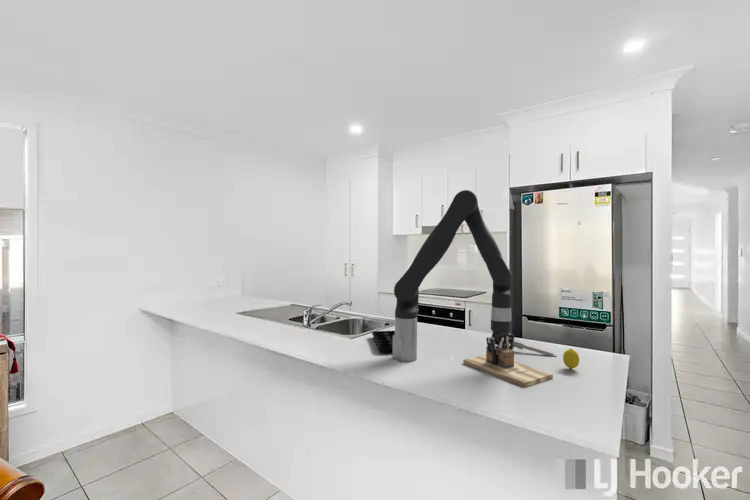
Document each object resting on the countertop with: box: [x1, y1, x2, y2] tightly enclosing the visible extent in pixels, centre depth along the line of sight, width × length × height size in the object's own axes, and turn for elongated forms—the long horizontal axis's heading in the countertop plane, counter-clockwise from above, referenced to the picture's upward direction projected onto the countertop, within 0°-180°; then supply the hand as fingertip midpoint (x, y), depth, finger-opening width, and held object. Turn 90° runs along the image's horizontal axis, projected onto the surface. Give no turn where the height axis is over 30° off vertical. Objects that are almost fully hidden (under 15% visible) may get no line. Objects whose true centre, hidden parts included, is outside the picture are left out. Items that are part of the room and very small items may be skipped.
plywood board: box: [462, 354, 554, 388], centre depth 140 cm, size 16×28×2 cm, turn 32°
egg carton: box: [371, 330, 395, 355], centre depth 173 cm, size 18×30×4 cm, turn 19°
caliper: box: [509, 340, 557, 357], centre depth 163 cm, size 20×1×6 cm, turn 65°
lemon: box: [562, 348, 580, 370], centre depth 142 cm, size 6×6×8 cm
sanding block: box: [485, 344, 515, 369], centre depth 143 cm, size 9×5×6 cm, turn 33°
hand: (500, 362), depth 143 cm, fingers closed on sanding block, 5 cm apart
